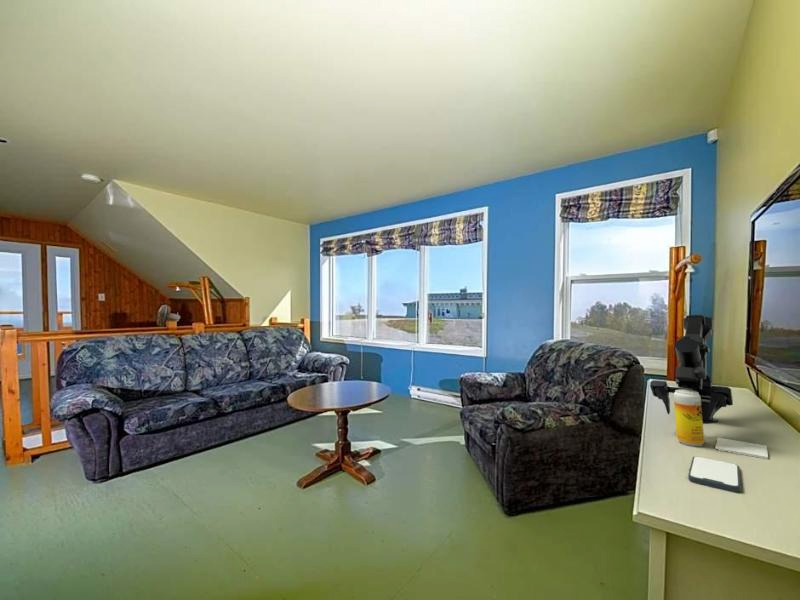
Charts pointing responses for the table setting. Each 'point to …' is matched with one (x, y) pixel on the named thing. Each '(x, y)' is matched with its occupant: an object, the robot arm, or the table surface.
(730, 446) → the mat
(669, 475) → the table surface
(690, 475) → the phone case
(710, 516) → the table surface
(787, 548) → the table surface
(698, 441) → the beer can
